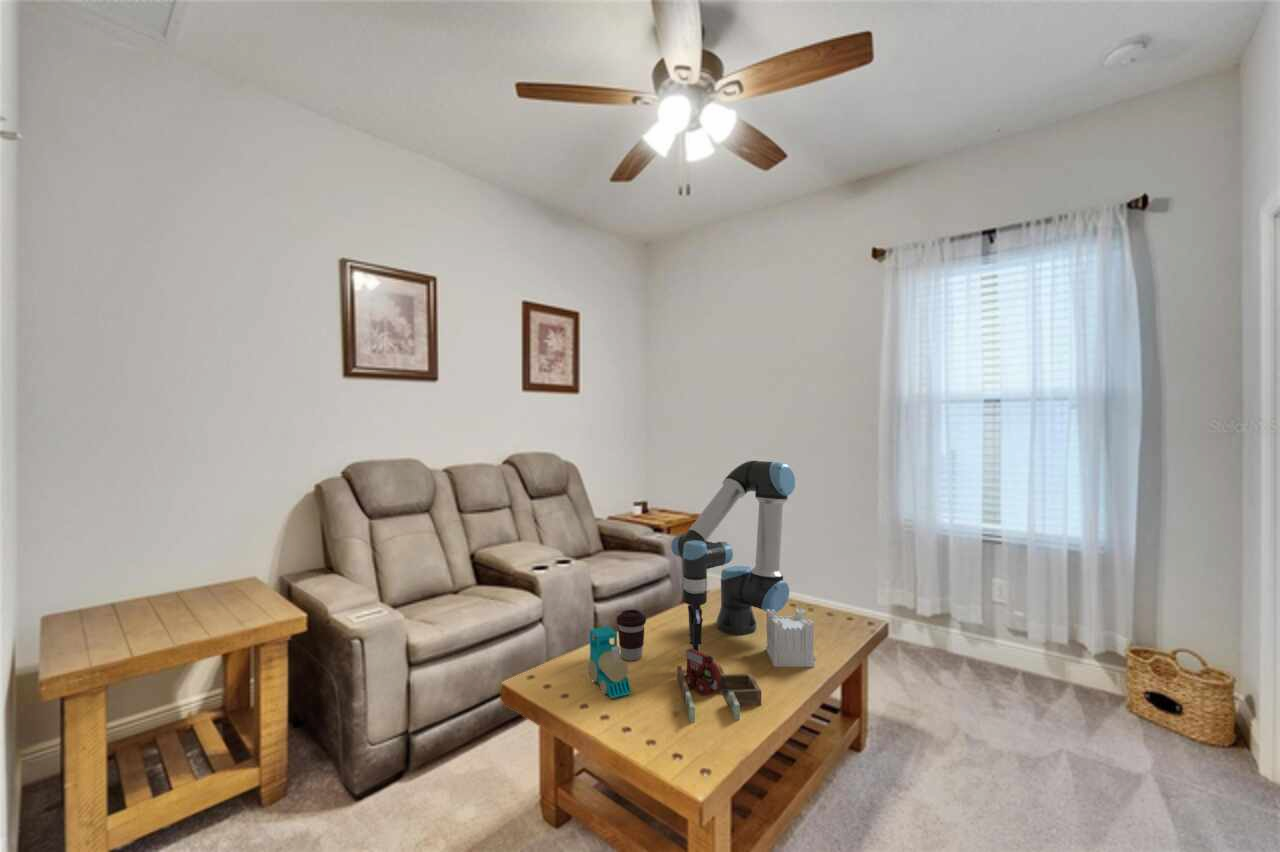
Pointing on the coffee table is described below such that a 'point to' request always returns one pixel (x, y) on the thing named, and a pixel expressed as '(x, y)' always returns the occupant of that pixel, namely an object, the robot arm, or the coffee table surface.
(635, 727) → the coffee table surface
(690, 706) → the channel
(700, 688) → the toy fire truck
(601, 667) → the toy train
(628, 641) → the coffee cup
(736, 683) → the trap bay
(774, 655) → the castle model
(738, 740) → the coffee table surface
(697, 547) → the robot arm
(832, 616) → the coffee table surface
